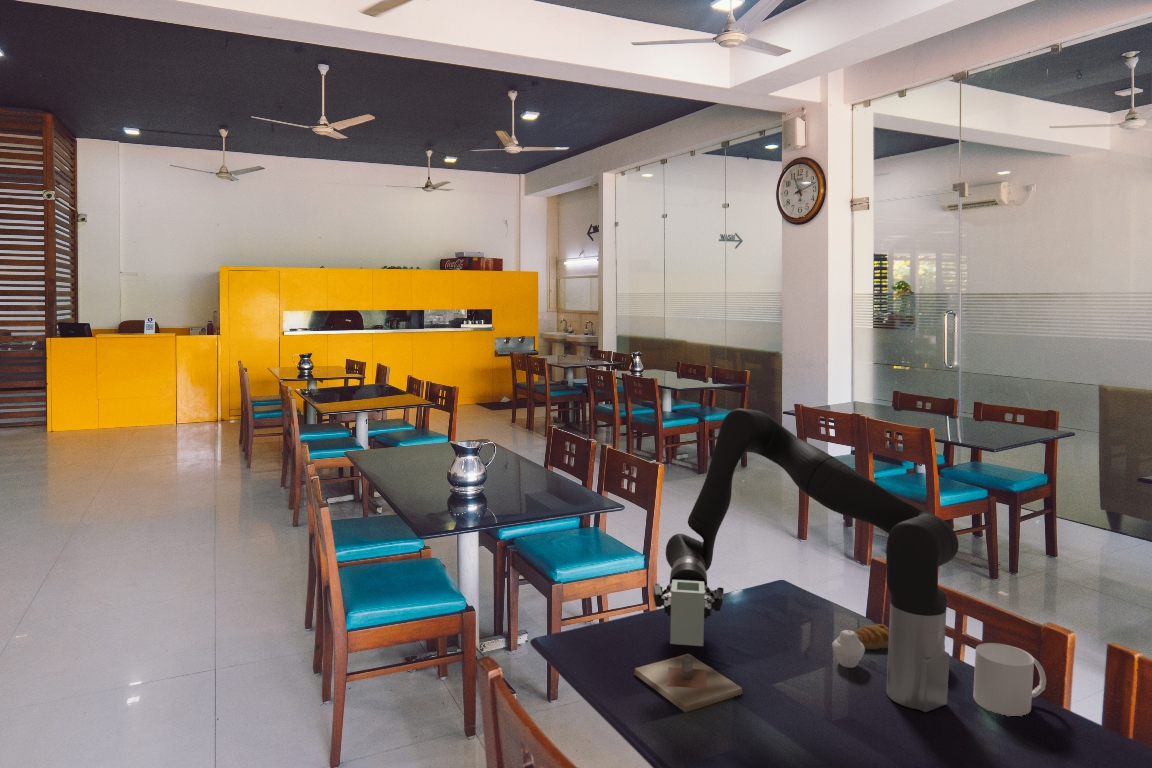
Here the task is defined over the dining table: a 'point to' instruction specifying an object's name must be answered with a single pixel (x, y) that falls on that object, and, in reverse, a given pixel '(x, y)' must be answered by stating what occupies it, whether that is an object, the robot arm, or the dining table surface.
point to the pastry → (873, 636)
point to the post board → (688, 682)
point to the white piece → (848, 649)
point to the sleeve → (687, 612)
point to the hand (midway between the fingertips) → (687, 612)
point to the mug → (1005, 679)
